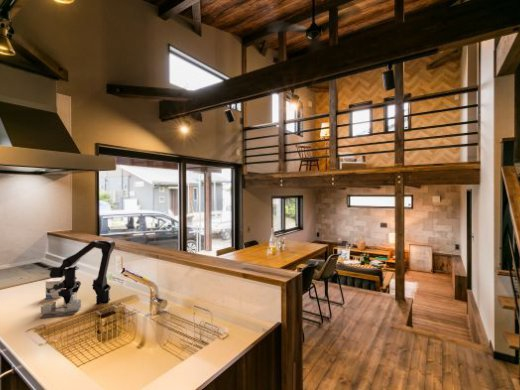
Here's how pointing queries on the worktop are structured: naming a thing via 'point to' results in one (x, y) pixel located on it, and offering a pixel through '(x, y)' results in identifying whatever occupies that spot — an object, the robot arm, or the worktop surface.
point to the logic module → (72, 297)
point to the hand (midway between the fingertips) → (70, 301)
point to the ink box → (49, 288)
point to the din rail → (59, 309)
